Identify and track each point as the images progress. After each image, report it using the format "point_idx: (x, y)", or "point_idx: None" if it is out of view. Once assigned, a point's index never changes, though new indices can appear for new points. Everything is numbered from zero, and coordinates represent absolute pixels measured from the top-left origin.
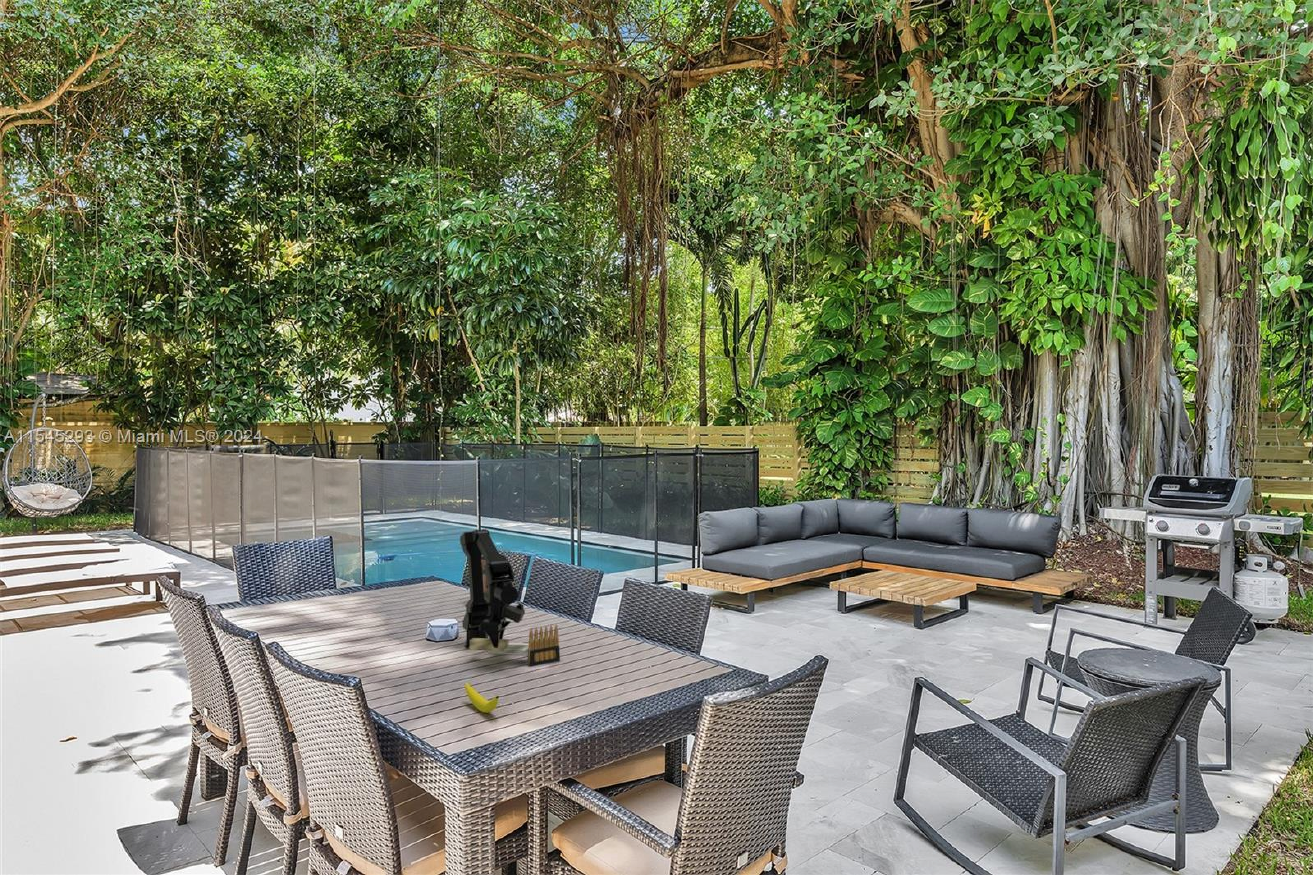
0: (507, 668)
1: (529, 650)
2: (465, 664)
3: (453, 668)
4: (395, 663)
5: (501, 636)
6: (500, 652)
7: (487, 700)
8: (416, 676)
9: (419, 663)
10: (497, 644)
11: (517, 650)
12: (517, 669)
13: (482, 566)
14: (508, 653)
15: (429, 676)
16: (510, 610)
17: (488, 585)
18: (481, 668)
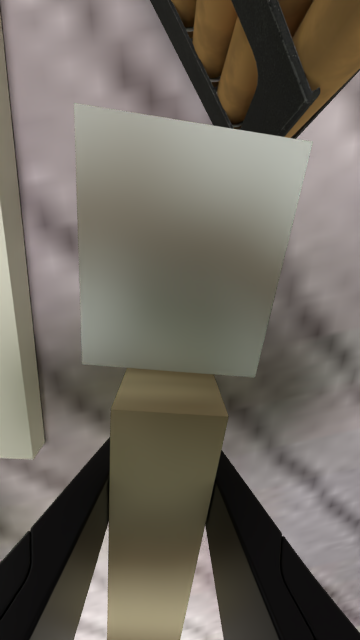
0: (294, 299)
1: (356, 69)
2: None
3: (264, 506)
4: (199, 635)
5: (93, 515)
6: (34, 393)
7: None
8: (334, 569)
9: (199, 595)
10: (230, 464)
11: (282, 250)
12: (322, 236)
13: None
14: (31, 348)
15: (343, 542)
16: None
17: None
18: (277, 417)
